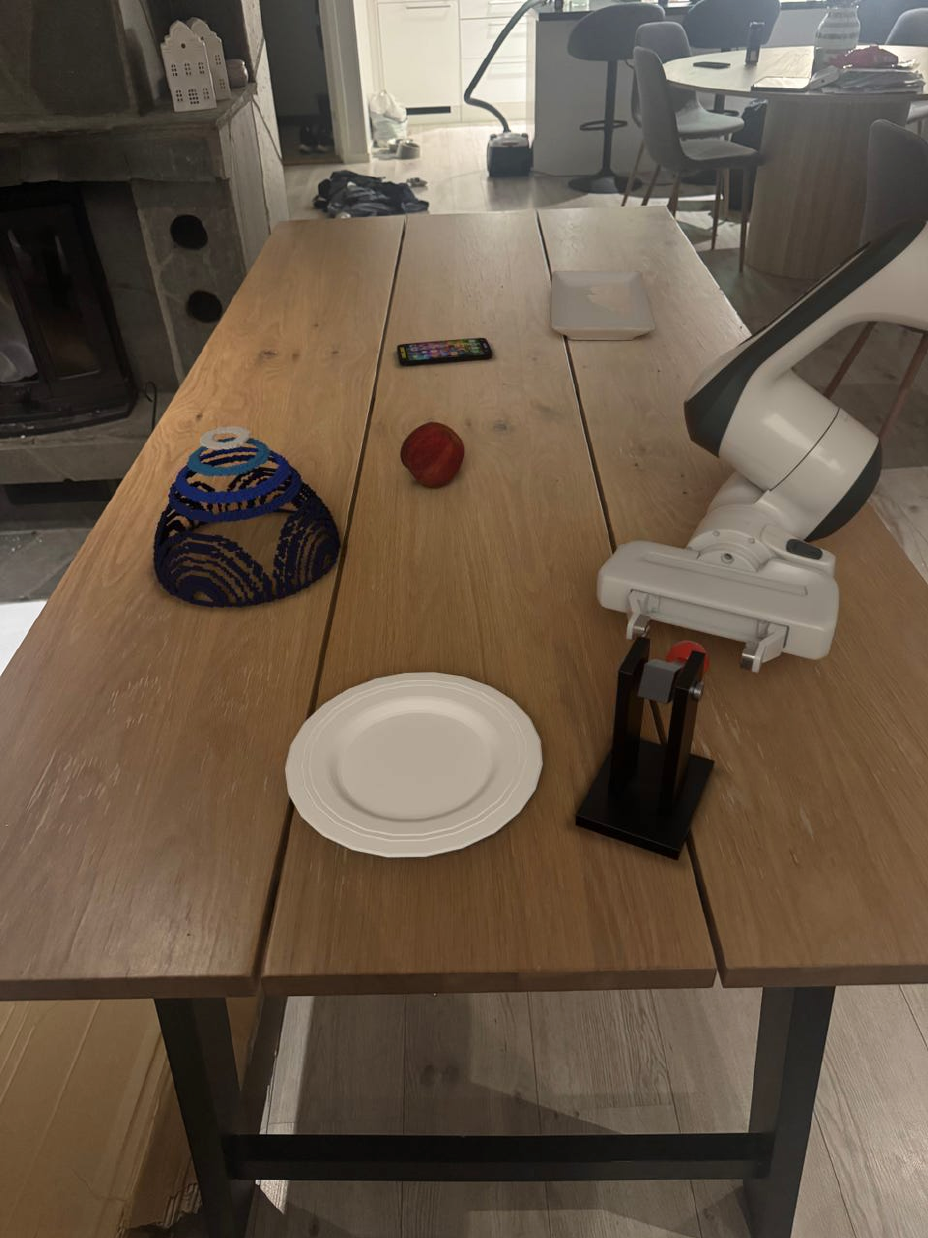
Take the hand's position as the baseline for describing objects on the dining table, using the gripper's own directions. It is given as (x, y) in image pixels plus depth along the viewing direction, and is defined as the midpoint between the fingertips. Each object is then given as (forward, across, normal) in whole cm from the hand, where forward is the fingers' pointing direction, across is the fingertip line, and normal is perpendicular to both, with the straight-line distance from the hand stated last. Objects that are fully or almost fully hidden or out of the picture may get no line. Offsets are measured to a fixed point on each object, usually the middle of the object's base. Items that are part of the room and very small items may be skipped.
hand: (690, 649), depth 75 cm
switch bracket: (+10, 0, +8) cm, 12 cm away
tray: (-96, -42, +8) cm, 105 cm away
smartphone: (-68, -59, +8) cm, 91 cm away
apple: (-29, -40, +8) cm, 50 cm away
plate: (+15, -18, +8) cm, 25 cm away
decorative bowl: (-6, -51, +8) cm, 52 cm away
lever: (+6, 0, 0) cm, 6 cm away
